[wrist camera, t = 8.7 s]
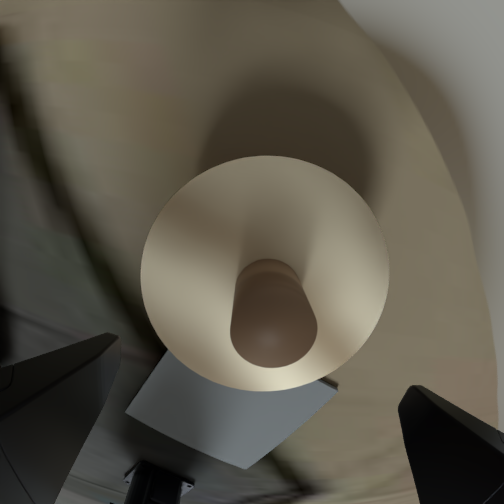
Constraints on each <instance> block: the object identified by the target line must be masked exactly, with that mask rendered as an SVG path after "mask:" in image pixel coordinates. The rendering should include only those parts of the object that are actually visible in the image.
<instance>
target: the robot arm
mask: <svg viewBox="0 0 504 504" xmlns="http://www.w3.org/2000/svg"><path fill="white" fill-rule="evenodd" d="M120 361H121V338H120V336H118V335H115V334H112V333H104V334H101V335H98V336H95V337H92V338H90V339H87V340H84V341H81V342H78V343H75V344H72V345H69V346H66V347H63V348H60V349H58V350H55V351H52V352H49V353H46V354H43V355H40V356H37V357H34V358H31V359H28V360H25V361H21V362H18V363H15V364H14V366H13V365H9V366H6V367H3V368H0V504H54V503H55V501H56V499H57V497H58V494H59V492H60V490H61V488H62V486H63V484H64V482H65V480H66V478H67V476H68V474H69V472H70V470H71V468H72V466H73V464H74V462H75V460H76V458H77V456H78V454H79V452H80V450H81V448H82V446H83V444H84V443H85V441H86V439H87V437H88V435H89V433H90V431H91V429H92V427H93V425H94V424H95V422H96V420H97V418H98V416H99V414H100V412H101V410H102V408H103V406H104V404H105V401H106V399H107V396H108V394H109V391H110V389H111V386H112V384H113V381H114V379H115V376H116V374H117V371H118V369H119V366H120ZM398 413H399V418H400V423H401V428H402V433H403V439H404V444H405V448H406V452H407V456H408V459H409V463H410V466H411V470H412V474H413V478H414V481H415V485H416V489H417V493H418V497H419V501H420V504H504V433H502V432H501V431H499V430H496V429H495V428H494V427H492V426H490V425H488V424H487V423H485V422H483V421H481V420H480V419H478V418H476V417H474V416H473V415H471V414H469V413H467V412H466V411H464V410H462V409H461V408H459V407H457V406H455V405H454V404H452V403H450V402H449V401H447V400H445V399H444V398H442V397H440V396H438V395H437V394H435V393H433V392H432V391H430V390H428V389H427V388H425V387H423V386H421V385H412V386H410V387H409V388H408V389H407V391H406V393H405V395H404V396H403V398H402V400H401V402H400V403H399V406H398ZM123 481H124V482H125V483H126V484H128V485H130V487H129V490H128V493H127V496H126V499H125V502H124V504H180V498H181V496H182V495H184V494H185V493H187V492H188V491H190V490H191V489H193V488H194V483H193V482H190V481H188V480H185V479H183V478H181V477H178V476H176V475H174V474H171V473H169V472H167V471H165V470H162V469H160V468H158V467H156V466H154V465H152V464H150V463H148V462H145V461H140V462H139V463H138V464H137V465H136V466H135V467H134V468H133V469H132V470H131V471H130V472H129V473H128V475H127V476H126V477H125V478H124V480H123ZM110 504H113V503H111V502H110Z"/></svg>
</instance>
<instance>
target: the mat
mask: <svg viewBox="0 0 504 504" xmlns="http://www.w3.org/2000/svg"><path fill="white" fill-rule="evenodd" d="M337 392H338V389H337V388H336V387H334V386H332V385H330V384H328V383H326V382H324V381H322V380H321V379H317V380H315V381H313V382H311V383H308V384H305V385H302V386H299V387H295V388H290V389H286V390H278V391H248V390H240V389H236V388H231V387H227V386H224V385H221V384H218V383H215V382H213V381H211V380H209V379H207V378H205V377H203V376H201V375H199V374H197V373H196V372H194V371H193V370H191V369H190V368H188V367H187V366H186V365H184V364H183V363H182V362H181V361H180V360H178V359H177V358H176V357H175V356H174V355H173V354H172V353H171V352H170V351H169V349H168V350H167V351H166V353H165V354H164V356H163V357H162V358H161V360H160V361H159V363H158V364H157V366H156V367H155V369H154V370H153V371H152V373H151V374H150V376H149V377H148V379H147V380H146V382H145V383H144V384H143V386H142V387H141V389H140V390H139V392H138V393H137V395H136V396H135V398H134V399H133V400H132V402H131V403H130V405H129V406H128V408H127V409H126V411H125V413H127V414H128V415H130V416H132V417H133V418H135V419H137V420H139V421H140V422H142V423H144V424H146V425H148V426H150V427H151V428H153V429H155V430H157V431H159V432H161V433H163V434H165V435H167V436H169V437H171V438H173V439H175V440H177V441H179V442H181V443H183V444H185V445H187V446H189V447H192V448H194V449H196V450H198V451H200V452H203V453H205V454H207V455H210V456H212V457H215V458H217V459H219V460H222V461H224V462H227V463H229V464H232V465H235V466H237V467H240V468H243V469H247V468H249V467H250V466H251V465H253V464H254V463H255V462H257V461H258V460H259V459H261V458H262V457H263V456H265V455H266V454H267V453H268V452H270V451H271V450H272V449H274V448H275V447H276V446H277V445H278V444H280V443H281V442H282V441H283V440H285V439H286V438H287V437H288V436H289V435H291V434H292V433H293V432H294V431H295V430H296V429H298V428H299V427H300V426H301V425H302V424H303V423H305V422H306V421H307V420H308V419H309V418H310V417H311V416H312V415H313V414H315V413H316V412H317V411H318V410H319V409H320V408H321V407H322V406H323V405H324V404H325V403H326V402H327V401H329V400H330V399H331V398H332V397H333V396H334V395H335V394H336V393H337Z"/></svg>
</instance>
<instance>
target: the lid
mask: <svg viewBox="0 0 504 504" xmlns="http://www.w3.org/2000/svg"><path fill="white" fill-rule="evenodd" d="M388 286H389V258H388V250H387V246H386V242H385V238H384V235H383V233H382V230H381V228H380V225H379V223H378V221H377V219H376V217H375V216H374V214H373V212H372V211H371V209H370V207H369V206H368V205H367V204H366V202H365V201H364V200H363V199H362V197H361V196H360V195H359V194H358V193H357V192H356V191H355V190H354V189H353V188H352V187H351V186H350V185H348V184H347V183H346V182H345V181H343V180H342V179H340V178H339V177H337V176H336V175H335V174H333V173H331V172H329V171H327V170H325V169H323V168H321V167H319V166H317V165H315V164H312V163H309V162H306V161H303V160H299V159H294V158H289V157H283V156H254V157H245V158H240V159H236V160H232V161H229V162H225V163H223V164H220V165H218V166H215V167H213V168H211V169H208V170H207V171H205V172H203V173H201V174H200V175H198V176H196V177H195V178H193V179H192V180H191V181H189V182H188V183H187V184H185V185H184V186H183V187H182V188H180V189H179V190H178V191H177V192H176V193H175V194H174V196H173V197H172V198H171V199H170V200H169V201H168V202H167V203H166V205H165V206H164V207H163V209H162V210H161V212H160V213H159V214H158V216H157V218H156V220H155V222H154V224H153V225H152V227H151V229H150V231H149V234H148V237H147V240H146V243H145V246H144V251H143V256H142V261H141V289H142V296H143V300H144V304H145V308H146V311H147V314H148V316H149V319H150V322H151V324H152V326H153V327H154V329H155V331H156V333H157V335H158V336H159V338H160V339H161V340H162V342H163V343H164V345H165V346H166V347H167V348H168V349H169V351H170V352H171V353H172V354H173V355H174V356H175V357H176V358H177V359H178V360H180V361H181V362H182V363H183V364H184V365H186V366H187V367H188V368H190V369H191V370H193V371H194V372H196V373H197V374H199V375H201V376H203V377H205V378H207V379H209V380H211V381H213V382H215V383H218V384H221V385H224V386H227V387H231V388H236V389H240V390H248V391H278V390H286V389H290V388H295V387H299V386H302V385H305V384H308V383H311V382H313V381H315V380H317V379H320V378H322V377H324V376H326V375H327V374H329V373H331V372H332V371H334V370H336V369H337V368H339V367H340V366H341V365H342V364H344V363H345V362H346V361H347V360H349V359H350V358H351V357H352V356H353V355H354V354H355V353H356V352H357V351H358V350H359V349H360V348H361V346H362V345H363V344H364V343H365V341H366V340H367V339H368V337H369V336H370V334H371V333H372V331H373V329H374V328H375V326H376V324H377V322H378V320H379V318H380V315H381V313H382V311H383V307H384V304H385V301H386V297H387V292H388Z"/></svg>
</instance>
